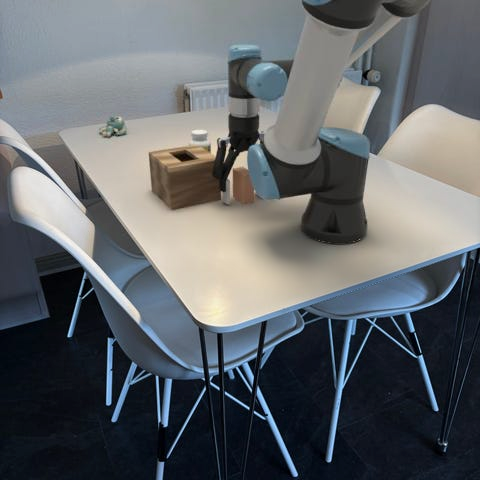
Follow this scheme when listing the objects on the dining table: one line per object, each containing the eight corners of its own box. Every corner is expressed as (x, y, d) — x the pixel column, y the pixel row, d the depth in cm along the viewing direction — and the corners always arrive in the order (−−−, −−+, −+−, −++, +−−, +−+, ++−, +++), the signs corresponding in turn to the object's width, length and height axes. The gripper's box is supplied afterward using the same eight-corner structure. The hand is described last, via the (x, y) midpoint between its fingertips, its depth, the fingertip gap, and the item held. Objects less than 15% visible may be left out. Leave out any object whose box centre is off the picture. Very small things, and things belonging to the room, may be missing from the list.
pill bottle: (208, 174, 147) (207, 135, 142) (187, 172, 148) (185, 134, 143) (213, 166, 153) (212, 129, 147) (193, 165, 154) (191, 128, 148)
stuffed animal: (89, 123, 176) (104, 109, 185) (93, 141, 181) (108, 126, 190) (117, 125, 174) (130, 110, 183) (121, 143, 179) (134, 128, 188)
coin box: (221, 199, 131) (220, 159, 125) (171, 209, 125) (168, 168, 119) (198, 182, 141) (197, 144, 136) (151, 191, 135) (148, 152, 130)
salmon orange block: (253, 202, 129) (254, 173, 125) (243, 205, 128) (244, 175, 124) (242, 194, 134) (242, 166, 130) (232, 196, 132) (232, 168, 128)
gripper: (273, 105, 128) (270, 186, 138) (196, 115, 118) (199, 201, 129) (290, 111, 122) (285, 195, 132) (210, 122, 112) (211, 212, 123)
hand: (242, 198), depth 131 cm, fingers open, 9 cm apart
